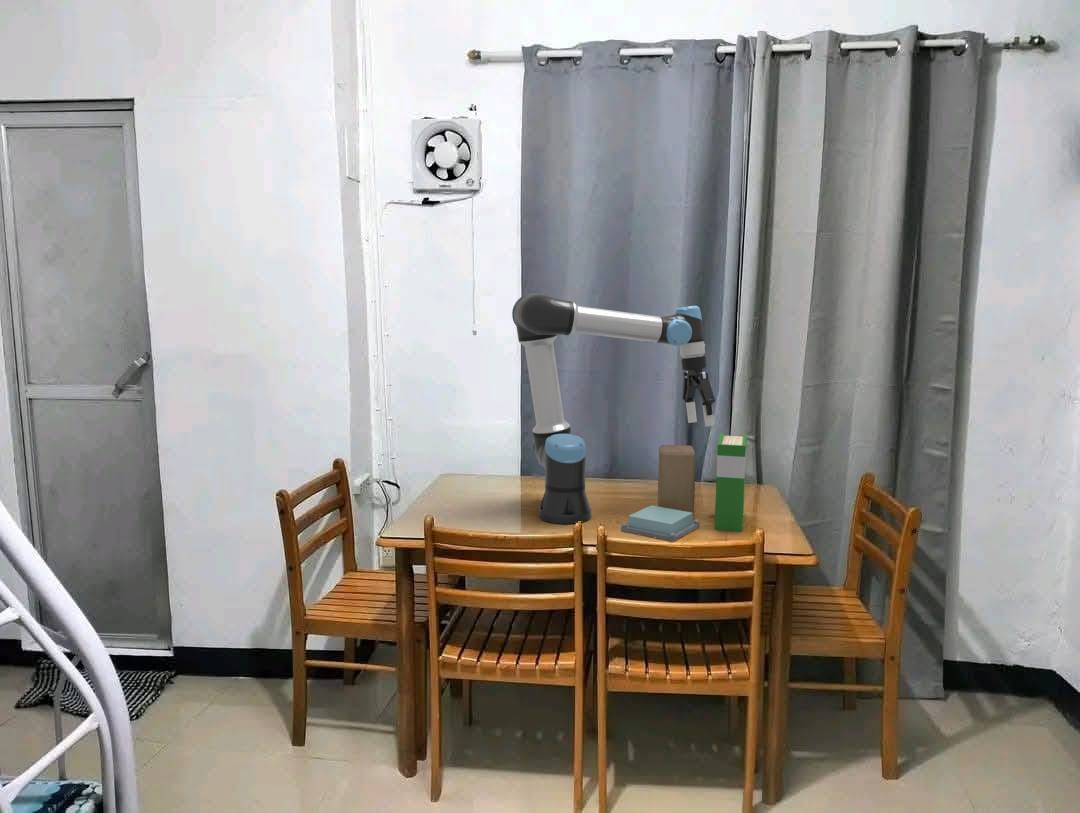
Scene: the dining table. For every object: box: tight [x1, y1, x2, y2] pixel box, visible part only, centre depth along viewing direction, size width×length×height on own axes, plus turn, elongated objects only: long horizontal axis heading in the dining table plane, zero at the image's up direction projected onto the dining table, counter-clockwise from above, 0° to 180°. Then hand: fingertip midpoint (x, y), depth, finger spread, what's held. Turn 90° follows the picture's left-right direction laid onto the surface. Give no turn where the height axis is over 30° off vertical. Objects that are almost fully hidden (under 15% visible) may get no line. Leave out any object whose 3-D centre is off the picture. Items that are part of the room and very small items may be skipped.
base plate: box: [620, 504, 701, 542], centre depth 221 cm, size 16×16×4 cm
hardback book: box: [714, 432, 748, 533], centre depth 226 cm, size 18×7×24 cm, turn 165°
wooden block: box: [657, 444, 697, 517], centre depth 233 cm, size 10×10×20 cm
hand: (701, 424), depth 248 cm, fingers open, 13 cm apart
